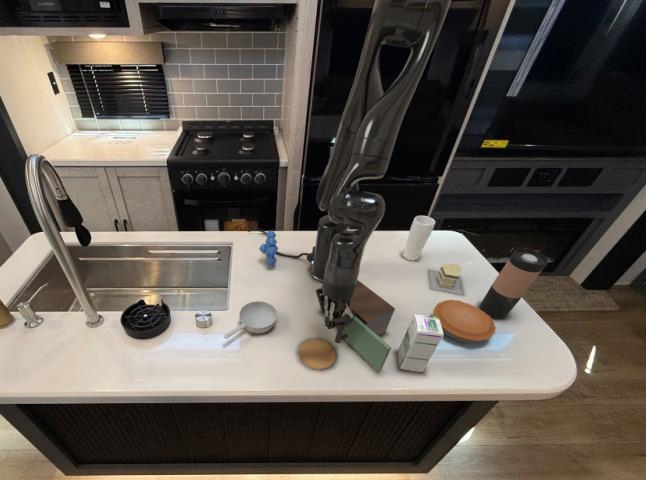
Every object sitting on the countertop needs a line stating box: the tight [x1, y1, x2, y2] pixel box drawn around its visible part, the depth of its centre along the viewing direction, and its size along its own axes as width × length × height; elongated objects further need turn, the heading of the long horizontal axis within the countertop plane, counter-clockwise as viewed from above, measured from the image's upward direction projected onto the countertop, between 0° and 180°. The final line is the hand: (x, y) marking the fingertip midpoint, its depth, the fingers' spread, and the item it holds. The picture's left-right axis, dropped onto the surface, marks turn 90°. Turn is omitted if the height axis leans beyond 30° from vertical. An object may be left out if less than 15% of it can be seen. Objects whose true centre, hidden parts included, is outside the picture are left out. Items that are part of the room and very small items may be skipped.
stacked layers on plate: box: [429, 263, 463, 295], centre depth 103 cm, size 10×9×6 cm
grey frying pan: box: [223, 300, 278, 339], centre depth 89 cm, size 11×18×4 cm, turn 134°
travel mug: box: [478, 248, 549, 320], centre depth 88 cm, size 8×8×20 cm
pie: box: [432, 299, 496, 343], centre depth 88 cm, size 15×16×5 cm
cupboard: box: [320, 279, 396, 338], centre depth 88 cm, size 16×10×10 cm, turn 30°
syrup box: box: [396, 313, 445, 373], centre depth 76 cm, size 6×6×14 cm
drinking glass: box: [402, 215, 436, 261], centre depth 111 cm, size 7×7×15 cm
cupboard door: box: [334, 316, 392, 373], centre depth 79 cm, size 14×5×9 cm, turn 30°
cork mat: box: [298, 339, 337, 370], centre depth 83 cm, size 10×10×1 cm
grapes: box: [258, 229, 279, 268], centre depth 110 cm, size 12×7×12 cm, turn 2°
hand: (329, 326), depth 84 cm, fingers closed
